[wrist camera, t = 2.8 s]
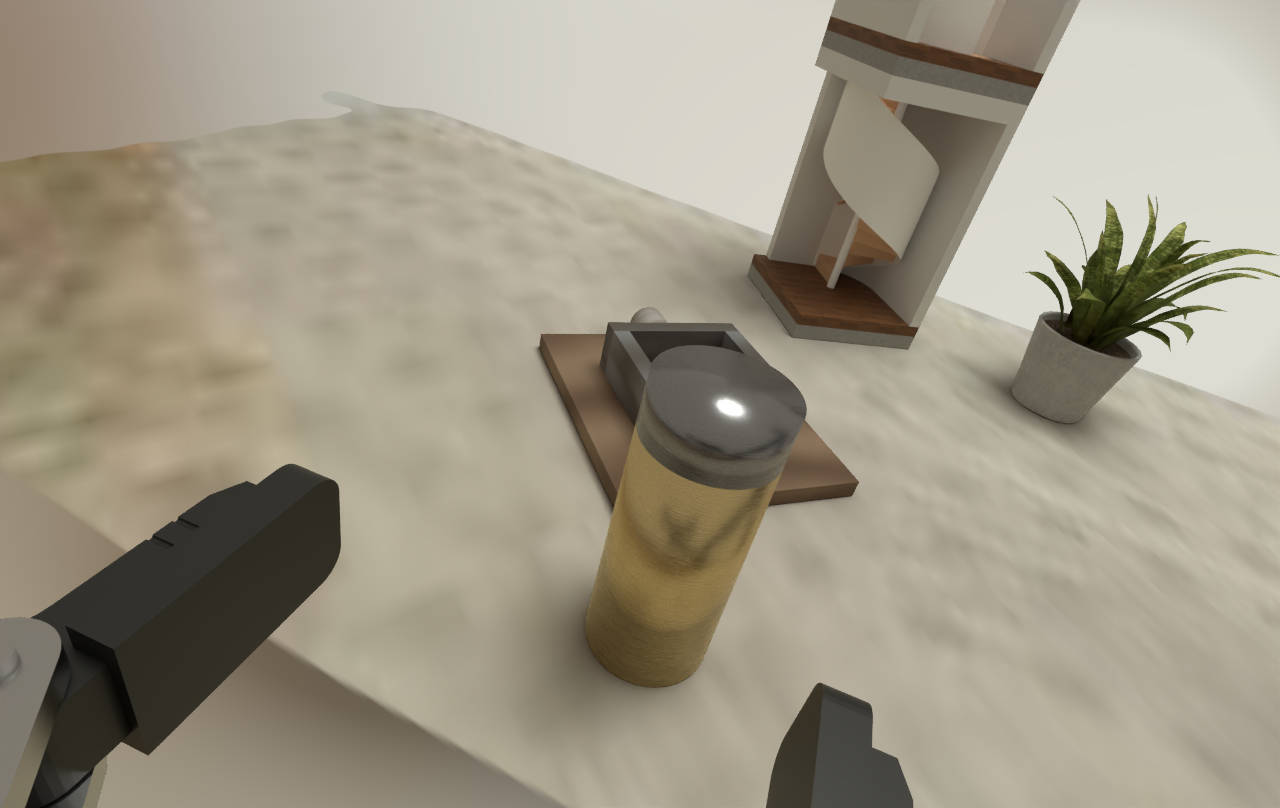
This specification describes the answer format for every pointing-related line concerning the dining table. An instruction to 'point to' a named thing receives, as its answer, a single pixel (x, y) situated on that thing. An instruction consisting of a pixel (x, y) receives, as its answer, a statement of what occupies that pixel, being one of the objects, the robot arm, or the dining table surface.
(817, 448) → the socket base
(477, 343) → the dining table surface
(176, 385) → the dining table surface
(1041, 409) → the house plant
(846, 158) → the white tall stand
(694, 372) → the capped cylinder
